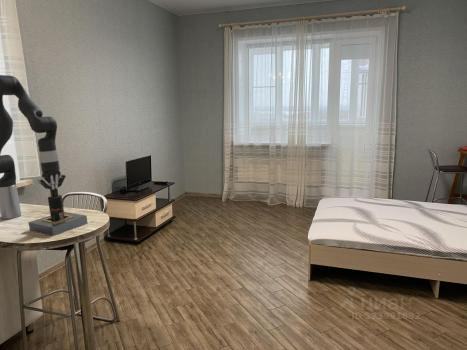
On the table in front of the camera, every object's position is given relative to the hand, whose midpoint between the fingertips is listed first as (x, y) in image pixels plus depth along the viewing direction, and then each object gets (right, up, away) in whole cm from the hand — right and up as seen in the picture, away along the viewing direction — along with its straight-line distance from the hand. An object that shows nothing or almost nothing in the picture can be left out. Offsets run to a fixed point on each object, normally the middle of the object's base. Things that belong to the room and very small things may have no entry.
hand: (54, 196), depth 163 cm
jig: (+1, -15, +3) cm, 15 cm away
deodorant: (+1, -15, +3) cm, 15 cm away
